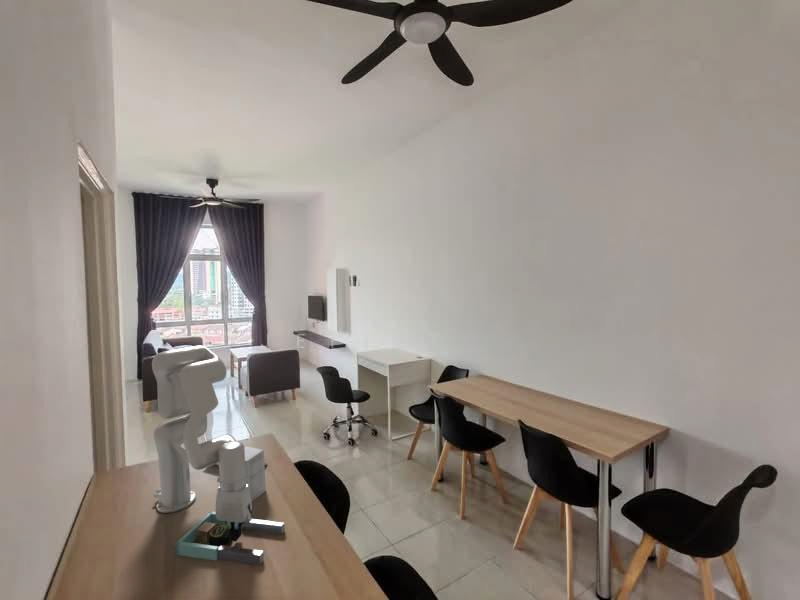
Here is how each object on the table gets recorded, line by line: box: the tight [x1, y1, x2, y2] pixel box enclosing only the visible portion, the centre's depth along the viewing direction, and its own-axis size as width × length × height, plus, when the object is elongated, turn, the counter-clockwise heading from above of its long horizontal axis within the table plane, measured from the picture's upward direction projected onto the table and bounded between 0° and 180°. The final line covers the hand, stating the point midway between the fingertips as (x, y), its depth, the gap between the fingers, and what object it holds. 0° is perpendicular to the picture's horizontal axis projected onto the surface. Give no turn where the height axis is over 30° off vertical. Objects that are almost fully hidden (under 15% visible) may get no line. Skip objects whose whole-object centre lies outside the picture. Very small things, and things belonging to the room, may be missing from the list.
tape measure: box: [208, 525, 231, 547], centre depth 119 cm, size 7×7×4 cm
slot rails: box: [217, 518, 286, 566], centre depth 118 cm, size 14×15×3 cm
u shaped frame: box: [174, 510, 243, 561], centre depth 120 cm, size 14×16×4 cm
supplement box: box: [244, 446, 267, 503], centre depth 144 cm, size 10×9×17 cm
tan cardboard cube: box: [196, 522, 217, 545], centre depth 121 cm, size 4×4×4 cm
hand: (236, 538), depth 119 cm, fingers closed
